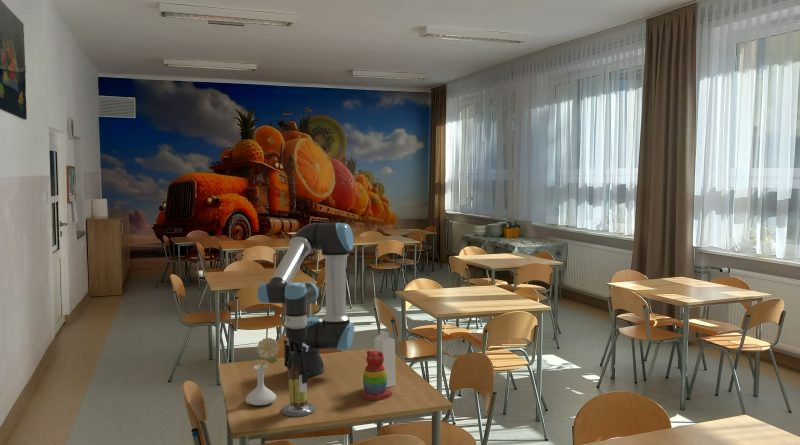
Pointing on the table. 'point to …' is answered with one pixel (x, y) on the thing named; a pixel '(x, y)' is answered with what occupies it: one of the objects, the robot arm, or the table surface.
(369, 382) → the stacking bear
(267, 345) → the flower in vase
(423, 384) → the table surface
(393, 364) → the milk
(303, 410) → the coaster
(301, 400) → the sauce bottle
